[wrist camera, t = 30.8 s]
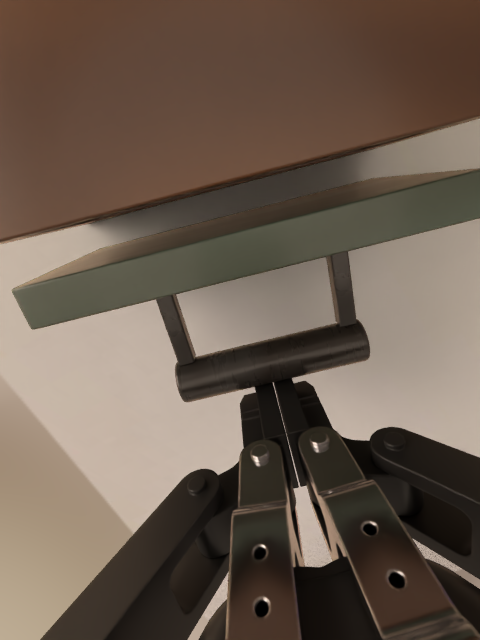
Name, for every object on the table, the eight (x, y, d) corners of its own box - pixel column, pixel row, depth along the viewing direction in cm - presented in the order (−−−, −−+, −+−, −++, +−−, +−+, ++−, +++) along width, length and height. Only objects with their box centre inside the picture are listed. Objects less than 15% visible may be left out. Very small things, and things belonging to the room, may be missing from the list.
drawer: (384, 305, 17) (483, 374, 10) (145, 363, 17) (98, 463, 11) (338, -204, 10) (517, -816, 4) (-34, -90, 11) (-386, -476, 5)
